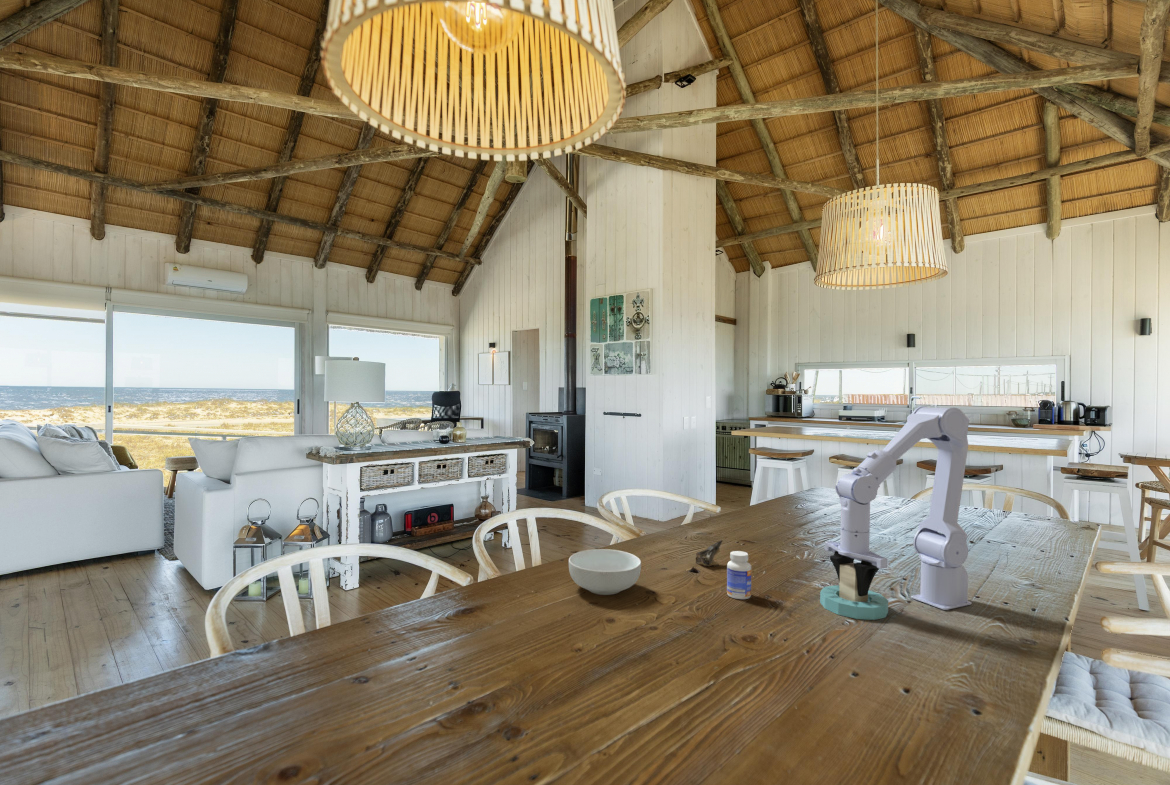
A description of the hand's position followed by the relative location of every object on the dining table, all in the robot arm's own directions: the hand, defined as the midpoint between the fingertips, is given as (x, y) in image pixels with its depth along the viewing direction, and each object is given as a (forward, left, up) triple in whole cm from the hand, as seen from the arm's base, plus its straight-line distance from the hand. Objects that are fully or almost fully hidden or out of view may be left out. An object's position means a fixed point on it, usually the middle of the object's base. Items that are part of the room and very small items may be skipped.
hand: (853, 591), depth 122 cm
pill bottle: (+19, -15, -4) cm, 24 cm away
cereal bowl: (+46, -30, -4) cm, 55 cm away
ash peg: (0, 0, -2) cm, 2 cm away
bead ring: (0, 0, -3) cm, 3 cm away
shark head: (+11, -36, -4) cm, 38 cm away
